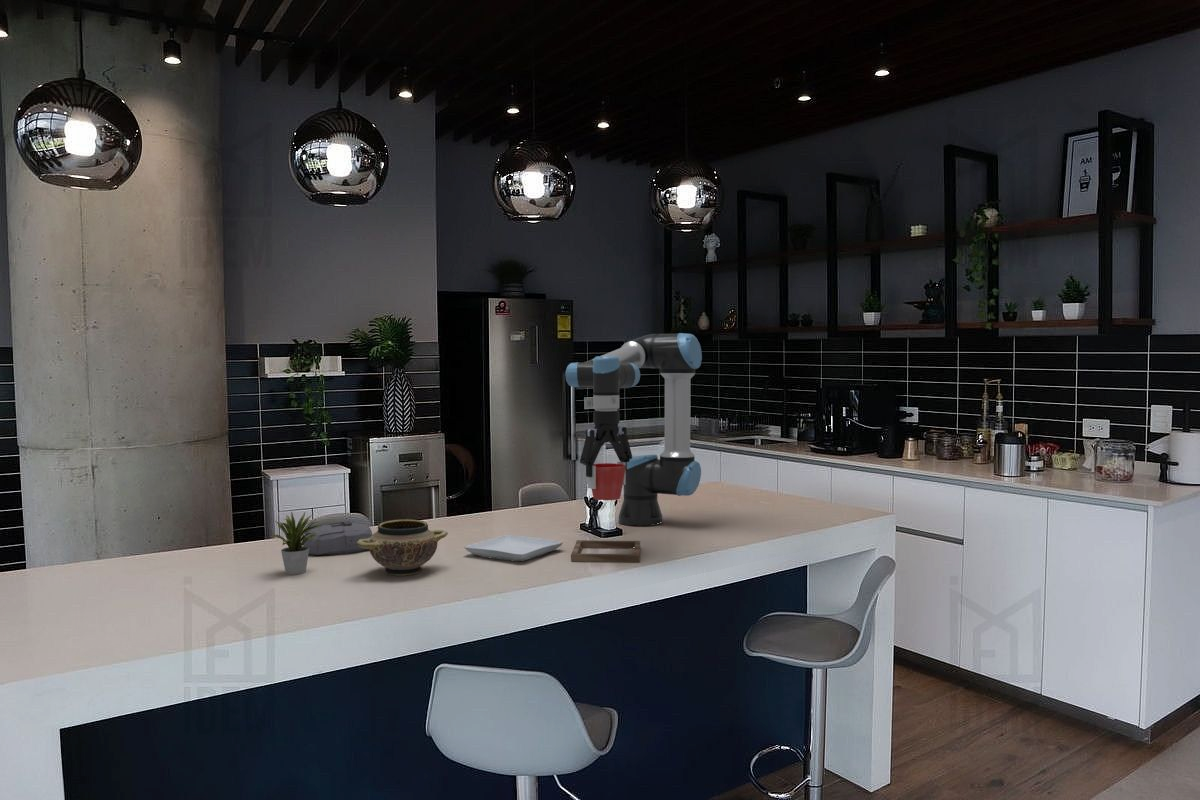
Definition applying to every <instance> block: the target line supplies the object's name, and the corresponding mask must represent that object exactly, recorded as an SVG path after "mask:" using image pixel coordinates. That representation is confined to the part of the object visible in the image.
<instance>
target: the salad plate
mask: <svg viewBox="0 0 1200 800" xmlns="http://www.w3.org/2000/svg"><path fill="white" fill-rule="evenodd" d="M563 543H564V541H559V540H553V539H547V538H541V537H534V536H525V535H524V536H523V535H515V534H514V535H513V534H504V535H500V536H495V537H493V538H489V539H486V540H485V539H484V540H481V541H478V542H475V543H472V544H469V545H465V546H464V549H465V550H466V551H467V552H469V554H472V555H476V556H478V557H482V556H485V557H484V558H488V557H491V558H490V559H494V558H498V559H497V560H502V559H505V560H504V561H509V560H513V561H512V562H523V561H522V560H525V561H527V560H526V559H528V560H530V559H529V558H531V559H533V558H532V557H534V558H537V557H539V555H540V556H543V555H545V553H546V554H548V553H550V552H553V551H555V550H557V549H559V548H560V547H562V545H563ZM542 554H543V555H542ZM536 556H537V557H536Z"/></svg>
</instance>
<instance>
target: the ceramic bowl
mask: <svg viewBox="0 0 1200 800" xmlns="http://www.w3.org/2000/svg"><path fill="white" fill-rule="evenodd" d="M448 534H449V532H448V531H447V530H445V529H434V530H430V529H429V523H427V522H426V521H423V520H419V519H413V518H411V519H409V518H408V519H407V518H406V519H405V518H404V519H401V518H400V519H391V520H386V521H382V522H380V523H379V524H377V531H376V532H374V533H372V536H371V537H370V538H368V539H360V540H358V541H357V545H358V546H359V547H361V548H365V549H369V550H368V551H369V554H370V555H371V557H372V559H374V561H376V563H377V564H379V565H380V566H381V567H384V568H385V569H384V572H385V574H387V575H391V576H401V577H402V576H403V577H404V576H411V575H417V574H418V573H420V572H421V571H422V566H424V565H425V564H427V562H429V561H430V560H431V559H432V558H433V556H434V555H435V553H436V551H437V548H438V542H439V541H441V540H442V539H444V538H446V537H447V536H448Z"/></svg>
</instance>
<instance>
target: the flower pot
mask: <svg viewBox="0 0 1200 800" xmlns="http://www.w3.org/2000/svg"><path fill="white" fill-rule="evenodd" d="M593 466H596V489H591V494H592V497H593V499H594V500H596V501H616V500H620V499H621V496H622V491H623V487H624V485H623V480H624V474H625V467H626V465H624V464H617V463H613V462H611V463H610V462H607V463H606V462H605V463H604V462H601V463H600V462H599V463H594V464H593Z"/></svg>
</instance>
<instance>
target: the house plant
mask: <svg viewBox="0 0 1200 800" xmlns="http://www.w3.org/2000/svg"><path fill="white" fill-rule="evenodd" d="M306 513H307V511H304V512H303V514H302V516H301V517H300V518H299V520H298V522H297V524H296V520H295V517H294V515H293V514H294V513H293V512H292V510H291V511H290V516H289V515H286V516H285V518H284V520H285V521H286V522H281V521H276V520H274V522H275V523H276V525H277V526H278V528H279V529H280V530H281V531H282V532H283V533H284V535H285V538H286V539H285V538H284V537H283V536H282V535H279V534H272V535H270V538H273V537H274V538H278V539H280V540H282V546H284V545H287V546H288V547H284V548H282V549H281V550H280V551H281V552H280V553H281V556H282V561H283V566H284V570H285V574H286V575H290V576H293V575H294V576H295V575H301V574H305V573H306V572H307V567H308V559H309V555H310V554H309V547H305V546H303V544H304V543H305V542H306V541H307V540H308V539H312V540H313V541H314V539H313V538H312V537H313V536H316V534H315V533H316V532H315V533H308V532H309V531H310V530H312V529H315V528H317V527H320V526H322V524H317V525H314V524H315V523H317V520H321V519H322V517H319V518H317V519H314V520H310V519H311V518H312V516H313V514H311V515H309V516H307V517H306V518H305V515H306ZM309 522H310V523H309ZM306 532H307V534H306ZM318 532H320V531H318ZM309 534H312V535H310V536H308V537H306V536H307V535H309ZM313 534H315V535H313ZM305 537H306V538H305ZM303 538H304V540H303Z"/></svg>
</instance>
